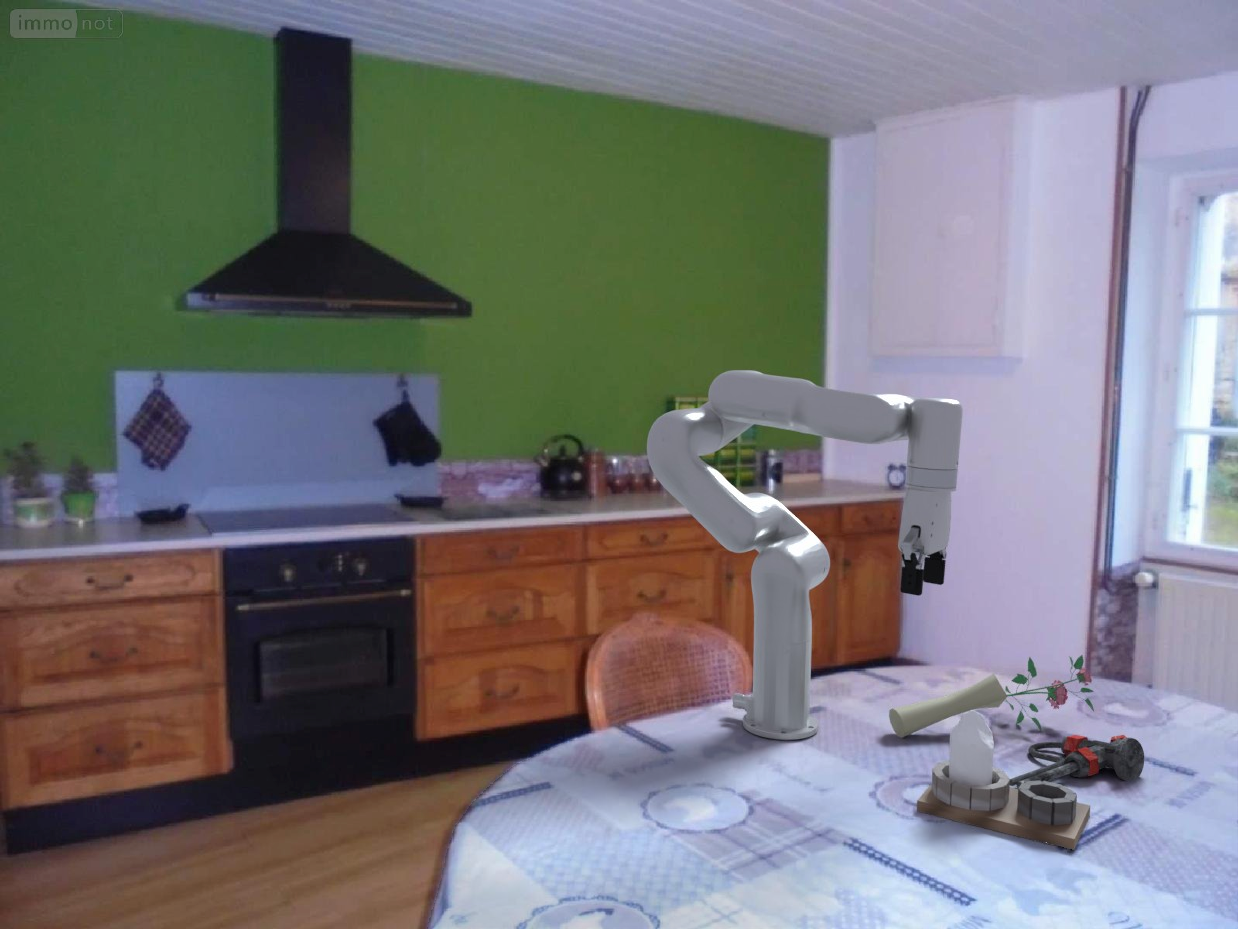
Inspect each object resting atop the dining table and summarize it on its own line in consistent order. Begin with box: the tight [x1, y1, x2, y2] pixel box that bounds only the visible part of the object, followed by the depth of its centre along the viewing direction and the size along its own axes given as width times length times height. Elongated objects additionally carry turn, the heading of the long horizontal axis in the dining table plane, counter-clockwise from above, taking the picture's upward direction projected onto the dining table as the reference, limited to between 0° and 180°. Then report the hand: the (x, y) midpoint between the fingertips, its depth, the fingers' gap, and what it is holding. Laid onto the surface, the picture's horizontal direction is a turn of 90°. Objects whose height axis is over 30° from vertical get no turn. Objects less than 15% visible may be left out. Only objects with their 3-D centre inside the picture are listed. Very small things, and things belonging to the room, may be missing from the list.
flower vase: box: [888, 654, 1095, 739], centre depth 171 cm, size 12×12×35 cm
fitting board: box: [916, 760, 1091, 851], centre depth 139 cm, size 20×12×4 cm, turn 57°
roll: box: [948, 709, 995, 786], centre depth 141 cm, size 6×12×6 cm
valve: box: [1010, 734, 1145, 789], centre depth 154 cm, size 6×26×15 cm
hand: (922, 588), depth 157 cm, fingers open, 9 cm apart
